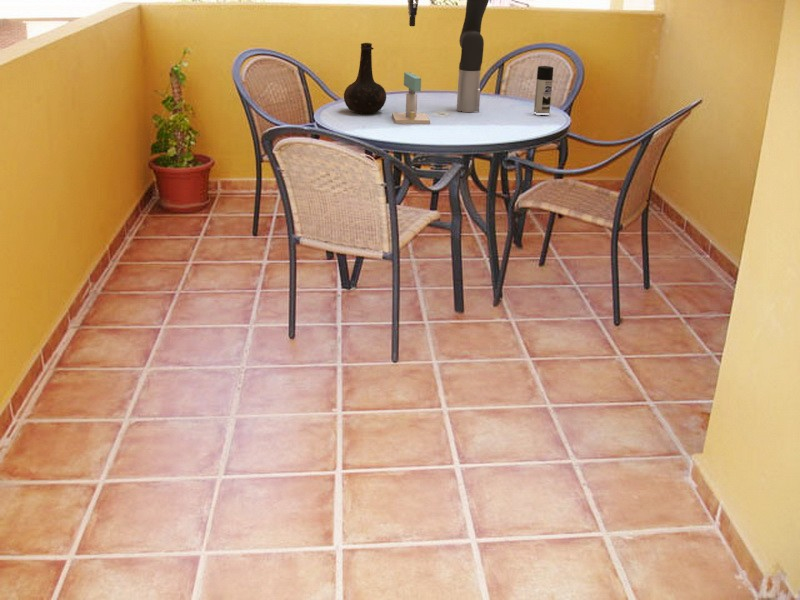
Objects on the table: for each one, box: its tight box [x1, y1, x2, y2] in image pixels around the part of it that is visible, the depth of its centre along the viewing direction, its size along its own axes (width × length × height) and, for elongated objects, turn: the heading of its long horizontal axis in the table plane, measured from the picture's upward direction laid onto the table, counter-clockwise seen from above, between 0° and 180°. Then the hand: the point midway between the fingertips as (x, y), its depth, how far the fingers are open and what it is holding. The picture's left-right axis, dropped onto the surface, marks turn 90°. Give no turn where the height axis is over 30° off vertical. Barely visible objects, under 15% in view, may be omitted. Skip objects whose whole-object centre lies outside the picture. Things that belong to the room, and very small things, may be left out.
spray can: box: [533, 65, 554, 114], centre depth 358 cm, size 7×7×20 cm
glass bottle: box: [343, 42, 387, 115], centre depth 350 cm, size 18×18×28 cm
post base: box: [391, 92, 431, 125], centre depth 340 cm, size 14×14×10 cm
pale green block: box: [403, 72, 422, 94], centre depth 337 cm, size 15×3×7 cm, turn 16°
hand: (412, 26), depth 343 cm, fingers closed
